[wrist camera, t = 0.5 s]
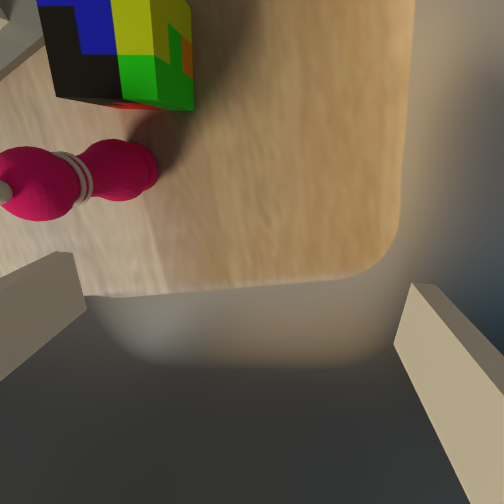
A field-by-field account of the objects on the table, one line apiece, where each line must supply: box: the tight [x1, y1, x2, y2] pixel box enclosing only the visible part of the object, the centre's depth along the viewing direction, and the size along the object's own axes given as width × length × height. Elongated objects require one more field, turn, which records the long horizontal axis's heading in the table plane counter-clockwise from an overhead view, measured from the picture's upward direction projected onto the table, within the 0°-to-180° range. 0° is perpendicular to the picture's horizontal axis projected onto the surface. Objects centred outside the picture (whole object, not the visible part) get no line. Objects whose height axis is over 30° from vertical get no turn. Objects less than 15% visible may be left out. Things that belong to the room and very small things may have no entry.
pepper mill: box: [0, 139, 158, 221], centre depth 28 cm, size 7×7×20 cm
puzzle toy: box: [36, 0, 194, 111], centre depth 27 cm, size 10×10×10 cm
